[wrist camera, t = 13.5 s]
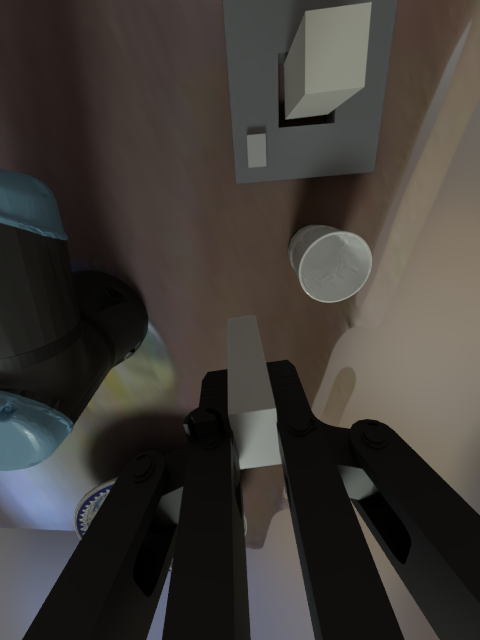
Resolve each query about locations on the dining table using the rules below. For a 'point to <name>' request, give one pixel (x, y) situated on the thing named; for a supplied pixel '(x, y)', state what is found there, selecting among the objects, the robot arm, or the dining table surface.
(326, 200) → the dining table surface
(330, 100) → the plug
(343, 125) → the socket plate
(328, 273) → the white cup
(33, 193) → the robot arm
